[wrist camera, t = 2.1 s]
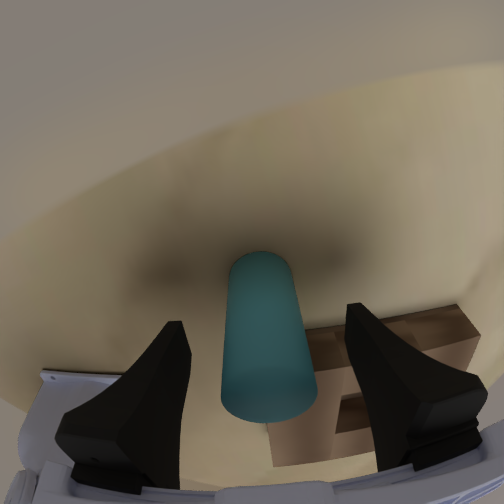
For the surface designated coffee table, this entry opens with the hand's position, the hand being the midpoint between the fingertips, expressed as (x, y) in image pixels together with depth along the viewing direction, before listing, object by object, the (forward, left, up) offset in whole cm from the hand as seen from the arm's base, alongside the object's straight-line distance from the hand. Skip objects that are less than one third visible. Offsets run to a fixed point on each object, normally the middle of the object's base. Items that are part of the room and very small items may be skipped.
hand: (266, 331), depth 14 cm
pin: (0, 0, -4) cm, 4 cm away
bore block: (+6, -10, -4) cm, 13 cm away
